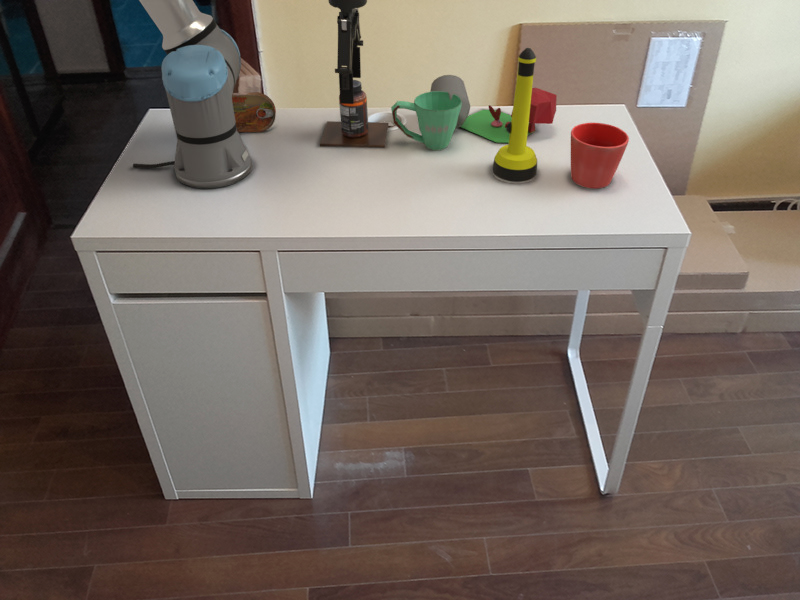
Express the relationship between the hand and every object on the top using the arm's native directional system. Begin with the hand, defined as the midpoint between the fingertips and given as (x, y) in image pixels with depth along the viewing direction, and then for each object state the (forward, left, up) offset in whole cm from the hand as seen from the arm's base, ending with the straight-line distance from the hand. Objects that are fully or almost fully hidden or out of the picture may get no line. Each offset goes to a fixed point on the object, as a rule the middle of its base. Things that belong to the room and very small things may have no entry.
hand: (350, 89), depth 145 cm
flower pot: (+49, -17, -11) cm, 53 cm away
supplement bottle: (0, 0, -10) cm, 10 cm away
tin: (-25, +2, -11) cm, 27 cm away
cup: (+21, +1, -8) cm, 23 cm away
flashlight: (+34, -15, -11) cm, 39 cm away
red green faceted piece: (+34, +5, -11) cm, 36 cm away
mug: (+16, -4, -11) cm, 20 cm away
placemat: (0, 0, -11) cm, 11 cm away
